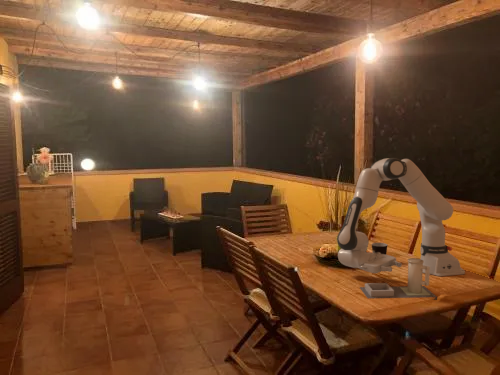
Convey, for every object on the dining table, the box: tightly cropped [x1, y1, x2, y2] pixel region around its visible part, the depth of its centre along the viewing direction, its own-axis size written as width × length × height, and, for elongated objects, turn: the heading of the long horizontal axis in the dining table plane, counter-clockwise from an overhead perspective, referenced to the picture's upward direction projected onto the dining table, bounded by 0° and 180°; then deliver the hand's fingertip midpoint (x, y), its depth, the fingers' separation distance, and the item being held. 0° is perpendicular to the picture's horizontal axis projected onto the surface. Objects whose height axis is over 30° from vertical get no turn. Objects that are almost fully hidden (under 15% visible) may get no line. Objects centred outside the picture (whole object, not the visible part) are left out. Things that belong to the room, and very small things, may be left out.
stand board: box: [359, 282, 438, 301], centre depth 190 cm, size 30×14×4 cm, turn 90°
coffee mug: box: [371, 242, 388, 255], centre depth 242 cm, size 12×9×10 cm
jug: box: [407, 257, 431, 293], centre depth 188 cm, size 9×7×14 cm
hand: (396, 267), depth 195 cm, fingers open, 8 cm apart
